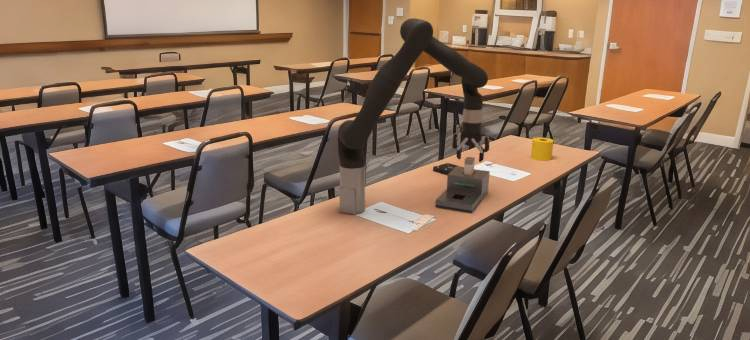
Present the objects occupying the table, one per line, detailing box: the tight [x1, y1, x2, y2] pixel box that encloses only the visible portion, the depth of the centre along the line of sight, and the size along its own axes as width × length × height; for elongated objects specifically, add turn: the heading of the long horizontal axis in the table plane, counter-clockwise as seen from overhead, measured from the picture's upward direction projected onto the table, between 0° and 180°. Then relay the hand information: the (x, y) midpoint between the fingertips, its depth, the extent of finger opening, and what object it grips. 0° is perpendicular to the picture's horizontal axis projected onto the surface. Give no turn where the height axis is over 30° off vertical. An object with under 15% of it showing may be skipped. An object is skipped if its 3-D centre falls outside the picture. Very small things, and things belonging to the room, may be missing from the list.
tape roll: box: [530, 137, 554, 162], centre depth 273 cm, size 10×10×9 cm
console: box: [435, 166, 491, 214], centre depth 214 cm, size 26×14×9 cm, turn 156°
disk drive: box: [432, 162, 464, 176], centre depth 249 cm, size 10×3×15 cm
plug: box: [463, 156, 476, 175], centre depth 218 cm, size 4×3×8 cm
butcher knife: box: [411, 214, 435, 232], centre depth 192 cm, size 5×15×1 cm, turn 150°
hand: (469, 160), depth 217 cm, fingers open, 8 cm apart
